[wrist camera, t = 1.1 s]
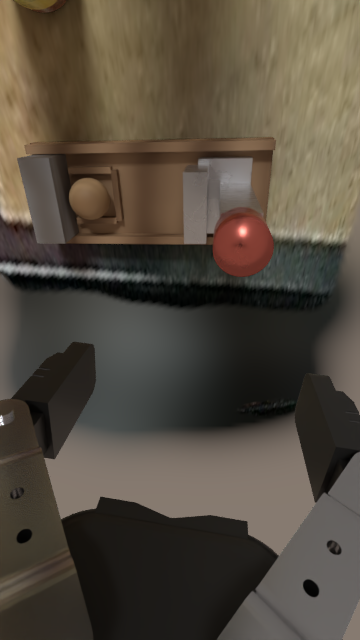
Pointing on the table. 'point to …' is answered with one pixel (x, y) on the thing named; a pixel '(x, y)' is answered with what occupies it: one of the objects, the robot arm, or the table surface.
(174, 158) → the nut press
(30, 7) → the sauce bottle
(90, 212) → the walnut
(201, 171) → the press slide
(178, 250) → the table surface
